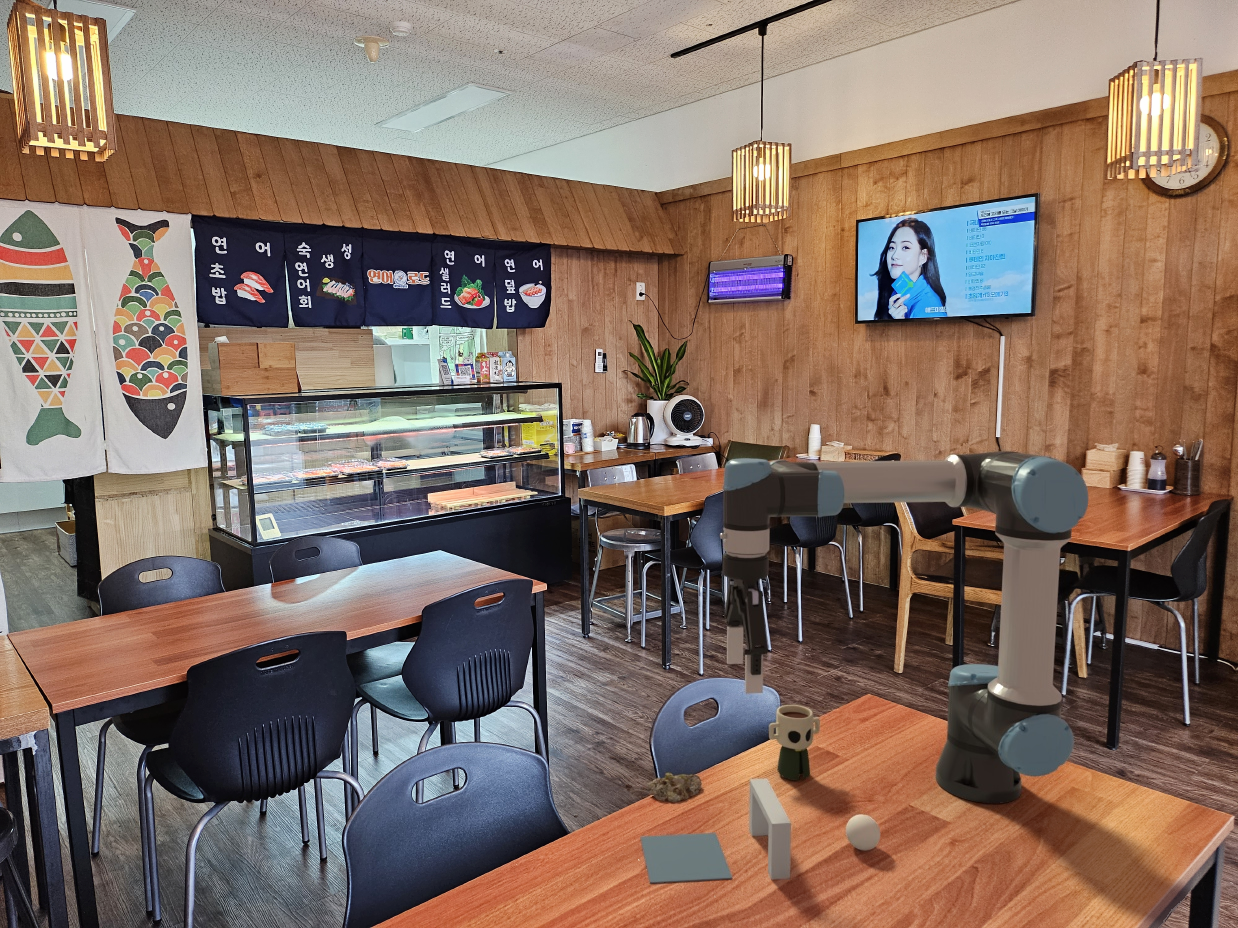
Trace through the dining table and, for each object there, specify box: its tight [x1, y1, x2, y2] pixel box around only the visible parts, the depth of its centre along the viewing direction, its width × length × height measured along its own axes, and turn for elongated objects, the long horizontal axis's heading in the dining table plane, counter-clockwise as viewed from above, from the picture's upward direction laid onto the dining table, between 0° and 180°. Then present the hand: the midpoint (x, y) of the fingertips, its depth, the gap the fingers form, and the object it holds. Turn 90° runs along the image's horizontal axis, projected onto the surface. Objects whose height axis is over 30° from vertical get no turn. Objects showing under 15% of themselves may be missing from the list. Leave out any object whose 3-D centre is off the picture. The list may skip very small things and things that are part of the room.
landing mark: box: [639, 832, 733, 884], centre depth 139 cm, size 13×13×1 cm
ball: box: [845, 814, 881, 851], centre depth 142 cm, size 6×6×6 cm
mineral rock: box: [647, 772, 703, 803], centre depth 161 cm, size 11×4×8 cm
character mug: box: [768, 704, 821, 781], centre depth 166 cm, size 11×7×13 cm, turn 107°
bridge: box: [748, 778, 792, 880], centre depth 140 cm, size 3×14×9 cm, turn 5°
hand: (743, 677), depth 143 cm, fingers open, 13 cm apart
